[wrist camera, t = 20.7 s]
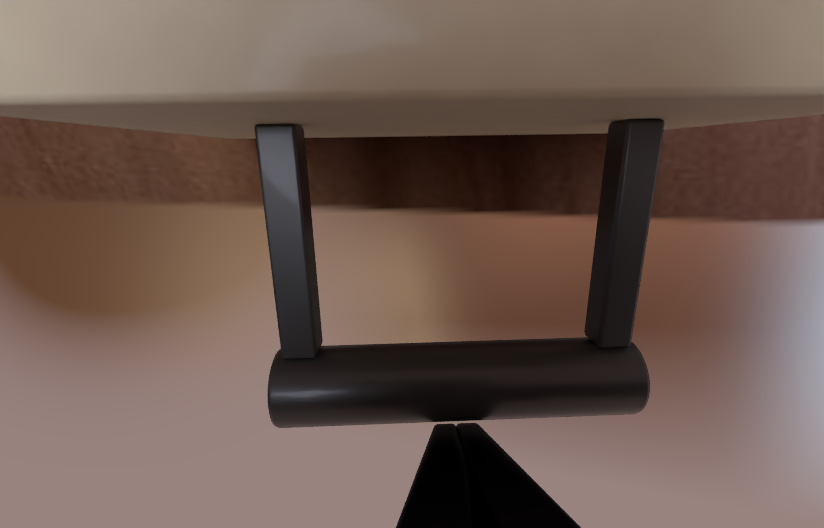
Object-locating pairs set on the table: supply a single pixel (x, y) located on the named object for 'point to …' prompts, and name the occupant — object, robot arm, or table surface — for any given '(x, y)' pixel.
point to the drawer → (425, 116)
